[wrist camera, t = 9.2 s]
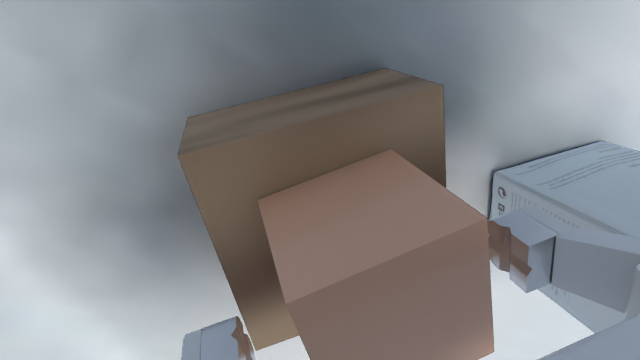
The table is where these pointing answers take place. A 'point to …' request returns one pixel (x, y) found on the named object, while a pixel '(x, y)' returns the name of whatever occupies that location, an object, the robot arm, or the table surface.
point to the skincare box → (578, 205)
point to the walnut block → (298, 167)
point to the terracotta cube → (382, 264)
